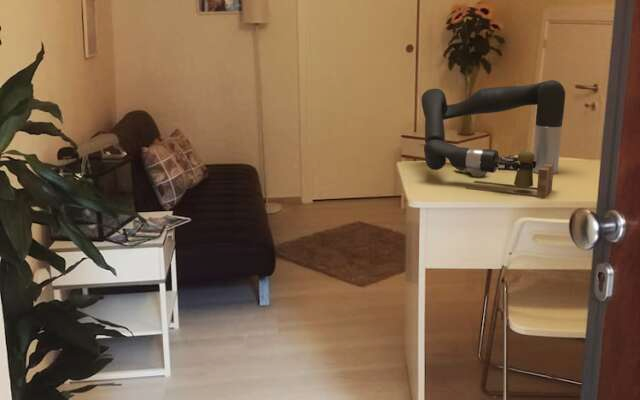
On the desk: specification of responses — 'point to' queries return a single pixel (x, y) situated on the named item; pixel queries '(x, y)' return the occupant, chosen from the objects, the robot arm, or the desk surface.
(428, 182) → the desk surface
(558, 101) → the robot arm
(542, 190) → the lane
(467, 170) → the ceramic sculpture
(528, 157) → the cork
